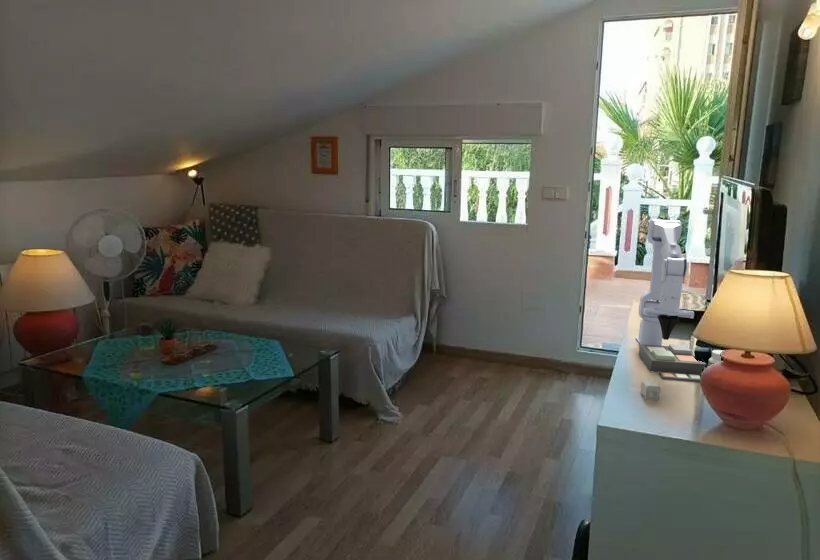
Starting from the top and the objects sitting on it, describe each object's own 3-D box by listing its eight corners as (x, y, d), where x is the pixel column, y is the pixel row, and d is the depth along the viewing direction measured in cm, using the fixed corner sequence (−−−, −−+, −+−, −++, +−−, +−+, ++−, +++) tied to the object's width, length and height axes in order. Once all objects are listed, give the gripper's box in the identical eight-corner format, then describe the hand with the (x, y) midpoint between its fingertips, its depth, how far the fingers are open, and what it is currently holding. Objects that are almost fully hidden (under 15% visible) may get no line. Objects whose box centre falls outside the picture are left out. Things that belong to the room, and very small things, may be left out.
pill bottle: (722, 381, 183) (727, 349, 181) (730, 388, 178) (735, 356, 176) (702, 380, 184) (707, 348, 182) (709, 387, 178) (714, 354, 176)
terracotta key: (673, 363, 195) (674, 354, 195) (691, 365, 195) (692, 356, 194) (678, 369, 190) (680, 360, 189) (697, 371, 189) (698, 361, 189)
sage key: (651, 358, 196) (652, 349, 195) (669, 359, 195) (670, 350, 195) (655, 364, 191) (656, 355, 190) (673, 365, 190) (675, 356, 189)
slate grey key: (668, 353, 202) (669, 344, 201) (685, 354, 201) (686, 345, 201) (672, 358, 197) (673, 349, 196) (690, 359, 196) (691, 350, 195)
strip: (662, 379, 183) (662, 376, 183) (658, 374, 187) (659, 371, 187) (704, 382, 182) (705, 379, 182) (700, 377, 186) (700, 374, 186)
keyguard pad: (638, 354, 205) (639, 344, 204) (688, 358, 203) (690, 347, 202) (650, 371, 190) (651, 360, 189) (704, 375, 188) (706, 364, 187)
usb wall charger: (654, 393, 172) (656, 380, 171) (662, 404, 166) (664, 390, 165) (640, 393, 173) (641, 379, 172) (647, 403, 166) (649, 389, 165)
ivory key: (645, 355, 203) (646, 346, 202) (662, 356, 202) (663, 347, 202) (649, 360, 198) (650, 351, 197) (667, 361, 197) (668, 352, 196)
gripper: (649, 297, 185) (644, 340, 188) (699, 300, 184) (693, 344, 187) (643, 292, 192) (638, 334, 195) (692, 295, 191) (686, 337, 193)
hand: (665, 338), depth 191 cm, fingers closed
